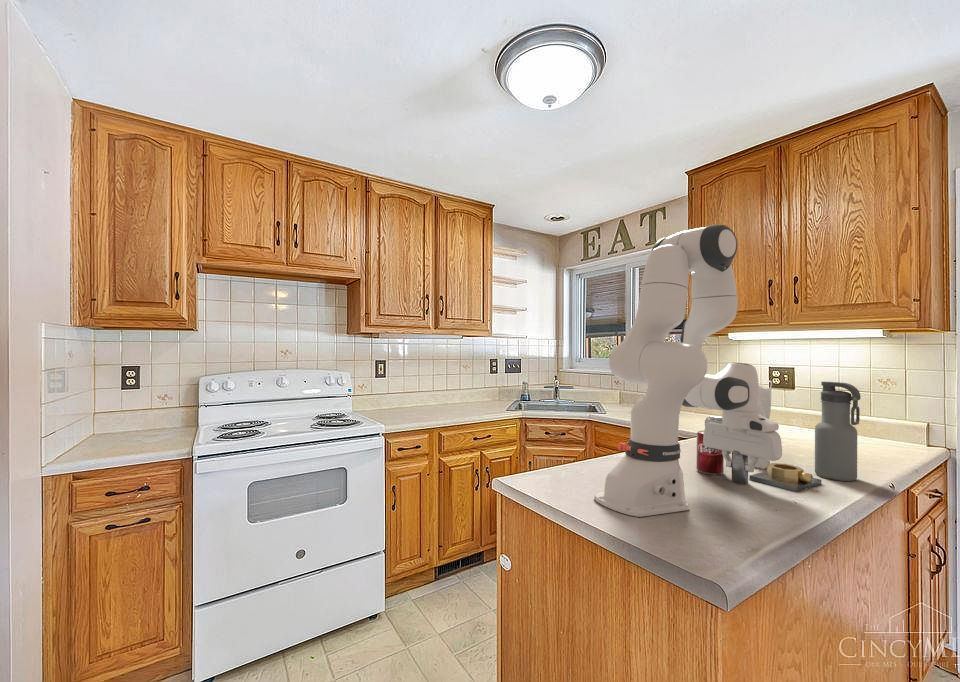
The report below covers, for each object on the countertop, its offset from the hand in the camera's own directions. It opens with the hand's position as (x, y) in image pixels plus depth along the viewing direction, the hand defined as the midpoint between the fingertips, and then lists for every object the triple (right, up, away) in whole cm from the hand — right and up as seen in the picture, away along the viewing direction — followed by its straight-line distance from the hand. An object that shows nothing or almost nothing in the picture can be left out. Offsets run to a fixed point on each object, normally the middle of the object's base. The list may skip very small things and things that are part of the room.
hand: (739, 469), depth 123 cm
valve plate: (+13, -4, +1) cm, 14 cm away
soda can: (-3, -4, +10) cm, 11 cm away
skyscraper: (+16, -5, +18) cm, 24 cm away
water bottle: (+32, -4, +6) cm, 33 cm away
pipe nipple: (0, -4, 0) cm, 4 cm away
